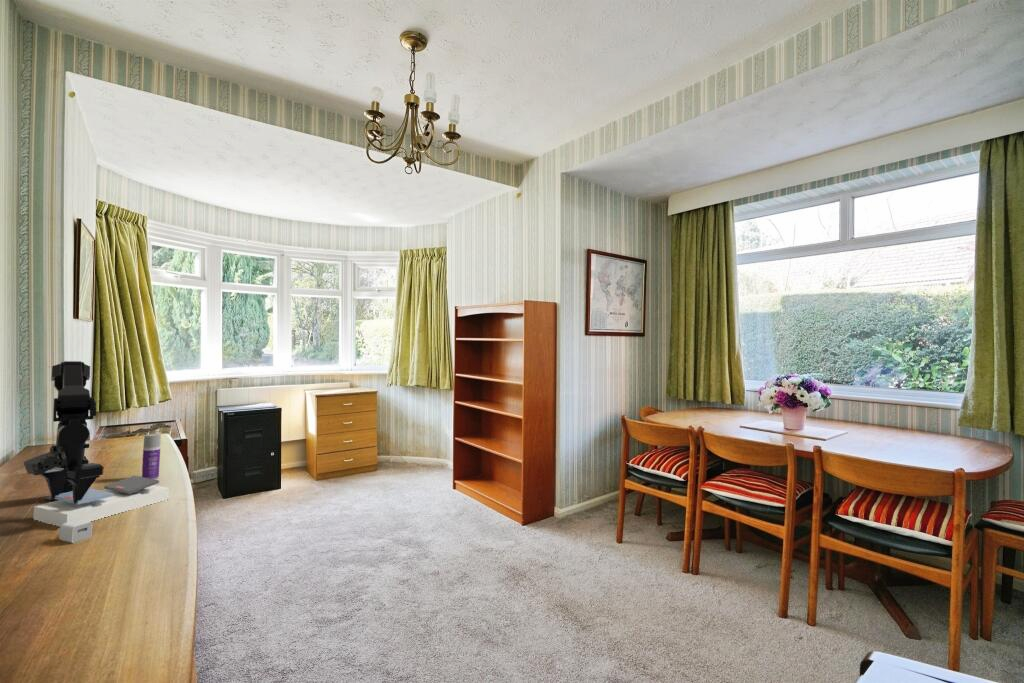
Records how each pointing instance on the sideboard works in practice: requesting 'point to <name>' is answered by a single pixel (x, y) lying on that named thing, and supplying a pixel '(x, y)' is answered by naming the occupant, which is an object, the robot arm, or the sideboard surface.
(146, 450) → the container
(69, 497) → the plate
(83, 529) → the usb wall charger
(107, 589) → the sideboard surface
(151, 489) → the white long base
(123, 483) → the rocker charcoal
